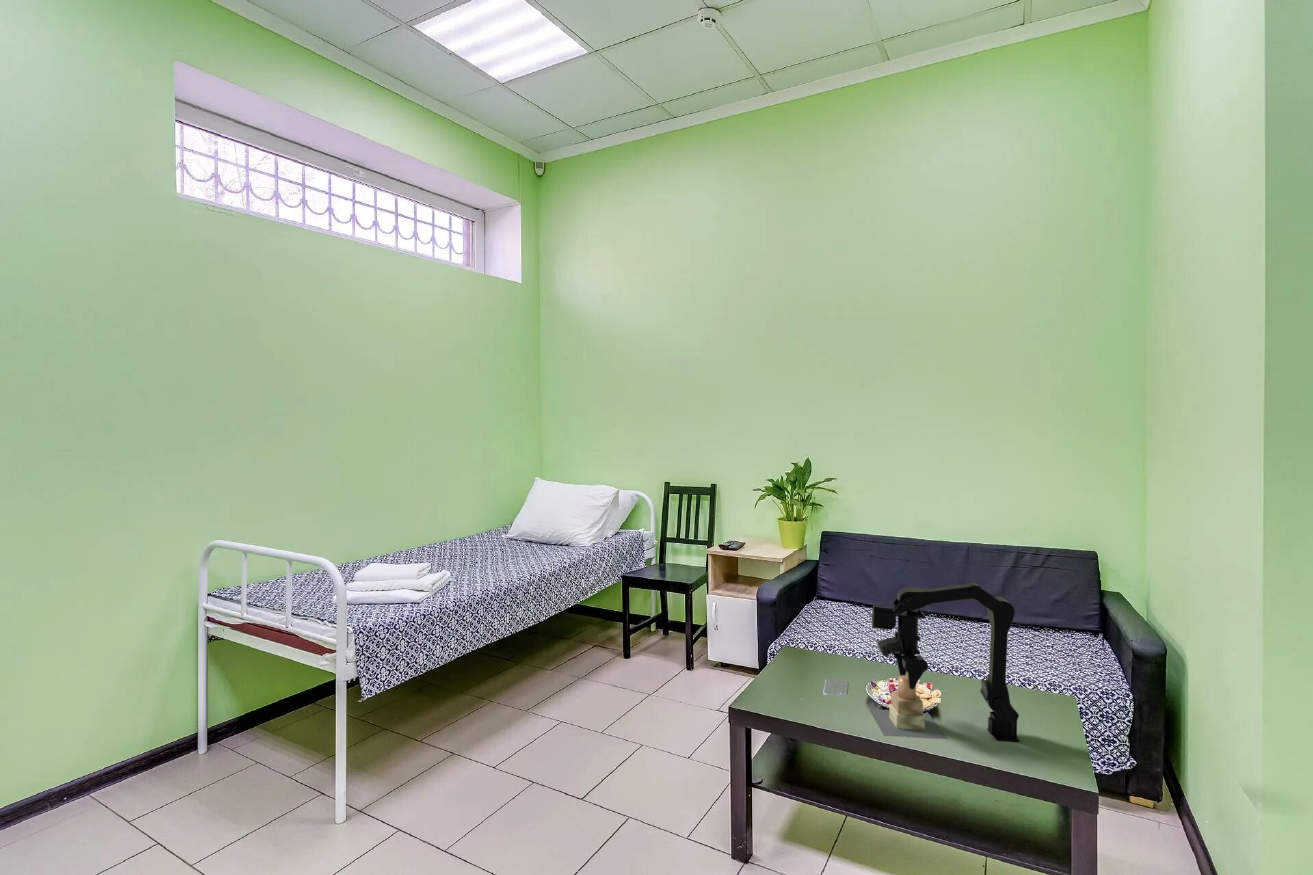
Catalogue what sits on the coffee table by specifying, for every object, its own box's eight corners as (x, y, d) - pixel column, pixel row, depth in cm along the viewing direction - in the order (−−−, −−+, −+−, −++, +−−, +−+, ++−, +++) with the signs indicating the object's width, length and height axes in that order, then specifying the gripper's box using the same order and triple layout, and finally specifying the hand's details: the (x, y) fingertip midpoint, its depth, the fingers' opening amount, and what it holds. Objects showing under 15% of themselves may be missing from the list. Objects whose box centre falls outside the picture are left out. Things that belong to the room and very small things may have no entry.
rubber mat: (927, 713, 196) (927, 712, 196) (948, 740, 178) (948, 738, 178) (868, 710, 198) (868, 708, 198) (883, 736, 180) (883, 735, 180)
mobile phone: (848, 680, 221) (846, 696, 207) (848, 682, 221) (846, 699, 207) (825, 677, 224) (822, 692, 210) (825, 679, 224) (822, 695, 210)
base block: (916, 718, 192) (916, 705, 192) (924, 729, 184) (924, 716, 184) (889, 716, 192) (889, 703, 192) (896, 728, 184) (896, 714, 184)
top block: (915, 705, 191) (915, 692, 191) (922, 715, 184) (922, 701, 184) (891, 704, 192) (891, 691, 192) (898, 714, 185) (898, 700, 185)
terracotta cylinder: (912, 693, 190) (913, 675, 190) (918, 700, 185) (918, 681, 185) (896, 692, 191) (896, 674, 191) (900, 699, 186) (901, 680, 186)
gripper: (872, 620, 198) (871, 670, 198) (888, 639, 180) (887, 693, 180) (908, 622, 197) (907, 672, 197) (928, 641, 179) (927, 695, 178)
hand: (906, 682), depth 188 cm, fingers open, 9 cm apart
